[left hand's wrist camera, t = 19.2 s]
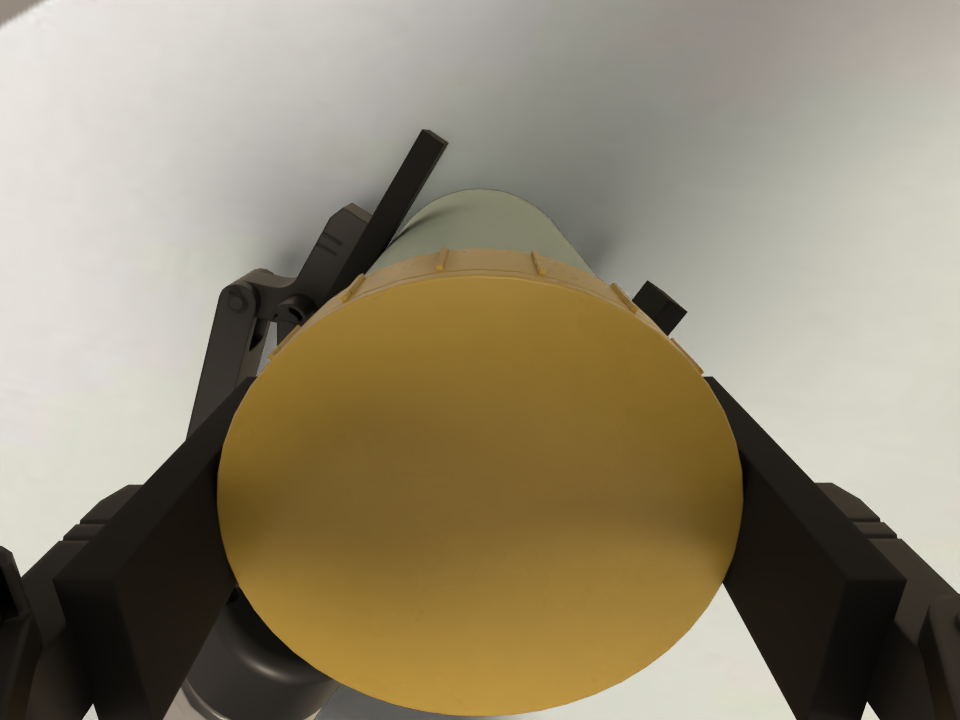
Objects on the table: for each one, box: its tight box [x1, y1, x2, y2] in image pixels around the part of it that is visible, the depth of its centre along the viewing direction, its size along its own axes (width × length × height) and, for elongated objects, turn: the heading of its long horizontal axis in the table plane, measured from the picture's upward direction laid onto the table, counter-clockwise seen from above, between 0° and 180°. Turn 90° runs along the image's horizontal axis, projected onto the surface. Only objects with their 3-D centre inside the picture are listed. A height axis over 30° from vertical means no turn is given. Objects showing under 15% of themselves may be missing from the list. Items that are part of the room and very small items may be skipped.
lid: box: [217, 247, 744, 716], centre depth 11 cm, size 9×9×2 cm
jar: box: [364, 189, 597, 278], centre depth 19 cm, size 9×9×17 cm
